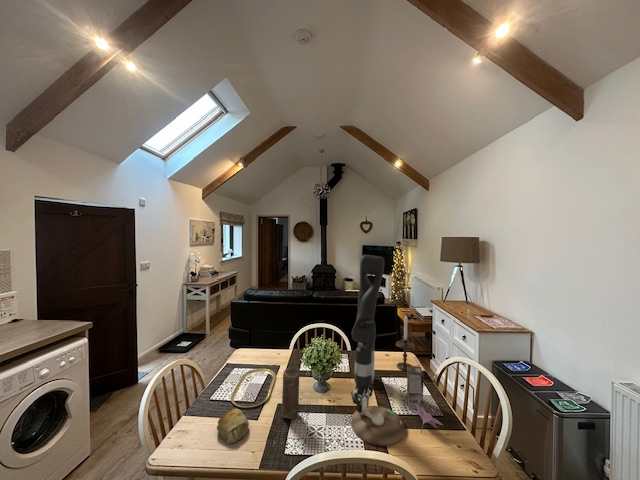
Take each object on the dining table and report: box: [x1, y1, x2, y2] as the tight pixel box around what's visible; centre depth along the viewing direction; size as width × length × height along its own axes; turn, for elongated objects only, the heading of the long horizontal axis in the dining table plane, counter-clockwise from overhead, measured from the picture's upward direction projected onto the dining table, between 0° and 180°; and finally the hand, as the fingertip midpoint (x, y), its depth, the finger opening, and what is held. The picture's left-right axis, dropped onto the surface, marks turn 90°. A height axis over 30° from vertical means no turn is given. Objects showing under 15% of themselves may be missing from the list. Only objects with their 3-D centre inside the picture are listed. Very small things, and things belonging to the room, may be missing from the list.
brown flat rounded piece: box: [350, 405, 406, 447], centre depth 118 cm, size 22×22×2 cm
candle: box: [281, 367, 300, 420], centre depth 124 cm, size 8×7×20 cm
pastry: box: [216, 407, 250, 445], centre depth 114 cm, size 14×12×8 cm
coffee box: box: [406, 365, 425, 410], centre depth 134 cm, size 9×6×16 cm
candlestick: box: [395, 309, 416, 372], centre depth 168 cm, size 11×11×35 cm
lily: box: [412, 404, 444, 434], centre depth 117 cm, size 12×12×10 cm
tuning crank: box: [358, 396, 384, 426], centre depth 121 cm, size 12×5×6 cm, turn 44°
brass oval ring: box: [230, 368, 277, 409], centre depth 146 cm, size 19×35×2 cm, turn 179°
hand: (362, 409), depth 124 cm, fingers closed on tuning crank, 4 cm apart
